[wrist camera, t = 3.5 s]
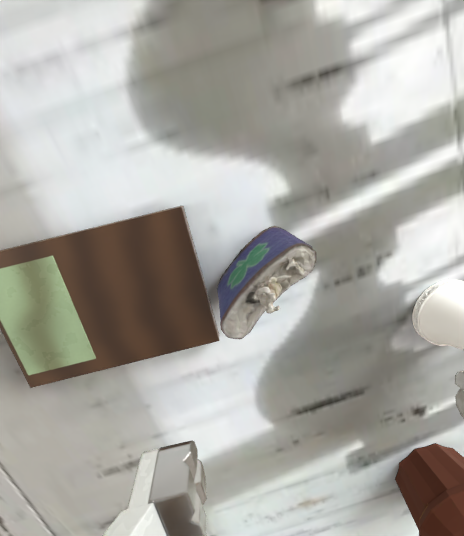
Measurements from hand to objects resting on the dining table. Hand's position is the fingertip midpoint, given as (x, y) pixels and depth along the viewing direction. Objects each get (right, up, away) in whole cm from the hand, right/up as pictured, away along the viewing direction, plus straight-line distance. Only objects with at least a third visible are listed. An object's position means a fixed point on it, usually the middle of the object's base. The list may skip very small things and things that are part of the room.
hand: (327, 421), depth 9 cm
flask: (-1, +5, +21) cm, 22 cm away
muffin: (+23, -22, +30) cm, 44 cm away
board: (-16, +2, +21) cm, 26 cm away
